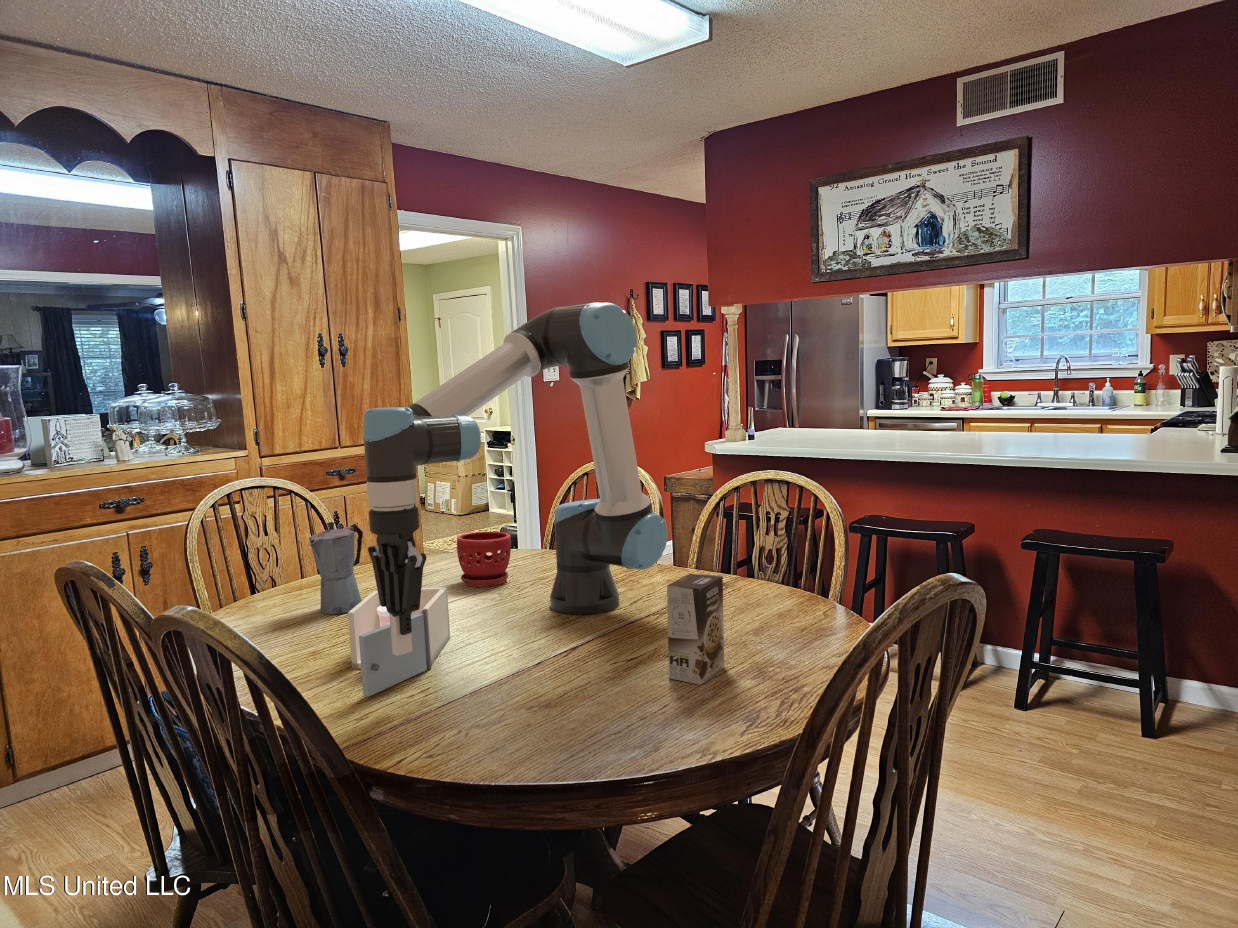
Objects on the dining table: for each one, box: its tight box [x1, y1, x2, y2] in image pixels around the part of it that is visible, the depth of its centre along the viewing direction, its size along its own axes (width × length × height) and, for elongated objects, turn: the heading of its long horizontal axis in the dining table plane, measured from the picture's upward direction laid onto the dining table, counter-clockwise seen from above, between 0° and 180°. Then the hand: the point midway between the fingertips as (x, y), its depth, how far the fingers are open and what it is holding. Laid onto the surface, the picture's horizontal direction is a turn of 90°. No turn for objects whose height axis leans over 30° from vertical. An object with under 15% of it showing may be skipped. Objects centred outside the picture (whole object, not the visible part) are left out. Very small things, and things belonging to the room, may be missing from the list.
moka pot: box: [307, 521, 364, 615], centre depth 179 cm, size 10×15×20 cm, turn 158°
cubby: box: [347, 587, 451, 671], centre depth 149 cm, size 14×16×11 cm
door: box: [359, 613, 428, 698], centre depth 134 cm, size 13×2×10 cm, turn 148°
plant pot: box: [456, 531, 512, 588], centre depth 198 cm, size 13×13×12 cm
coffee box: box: [666, 573, 725, 686], centre depth 134 cm, size 9×6×16 cm
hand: (402, 652), depth 128 cm, fingers closed
